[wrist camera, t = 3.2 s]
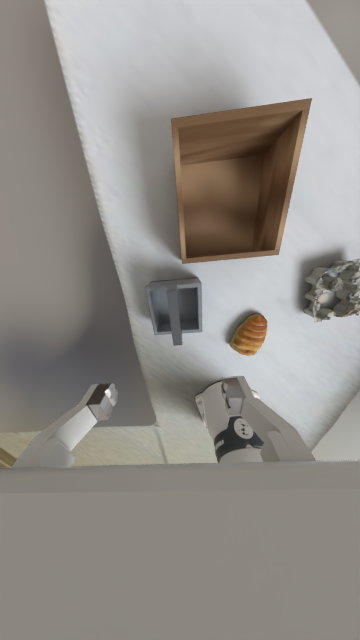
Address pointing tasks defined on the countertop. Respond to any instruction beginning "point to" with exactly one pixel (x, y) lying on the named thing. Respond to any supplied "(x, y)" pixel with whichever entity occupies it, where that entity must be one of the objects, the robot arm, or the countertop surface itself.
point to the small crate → (175, 307)
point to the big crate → (236, 179)
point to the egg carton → (348, 286)
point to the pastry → (249, 335)
